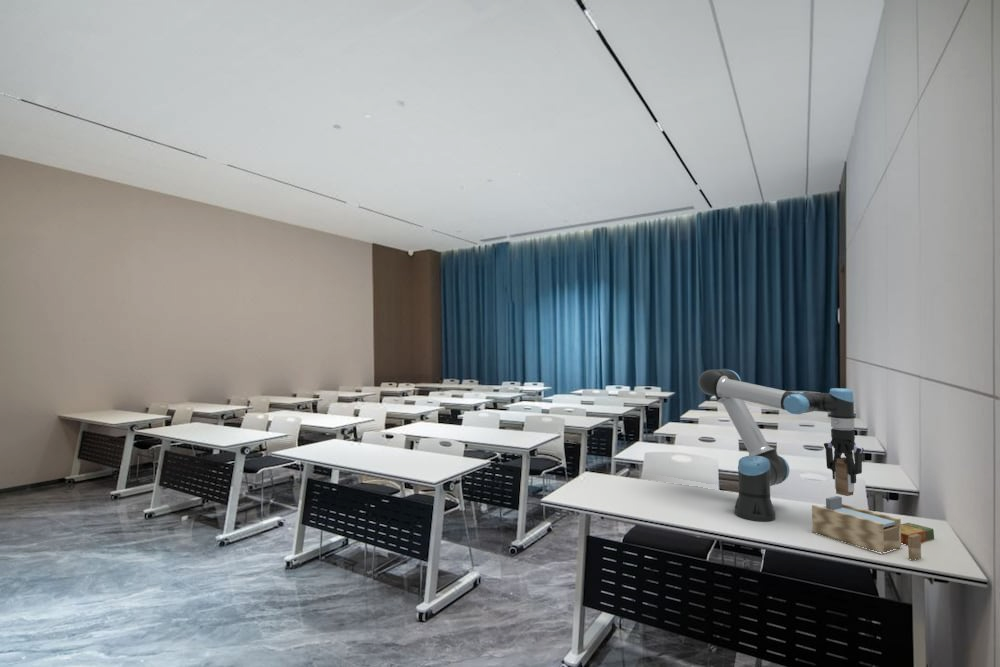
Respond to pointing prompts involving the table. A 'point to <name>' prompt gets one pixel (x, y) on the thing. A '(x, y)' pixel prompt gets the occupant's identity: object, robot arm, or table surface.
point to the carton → (916, 532)
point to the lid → (836, 505)
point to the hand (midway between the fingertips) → (844, 489)
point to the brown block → (842, 477)
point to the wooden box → (863, 530)
